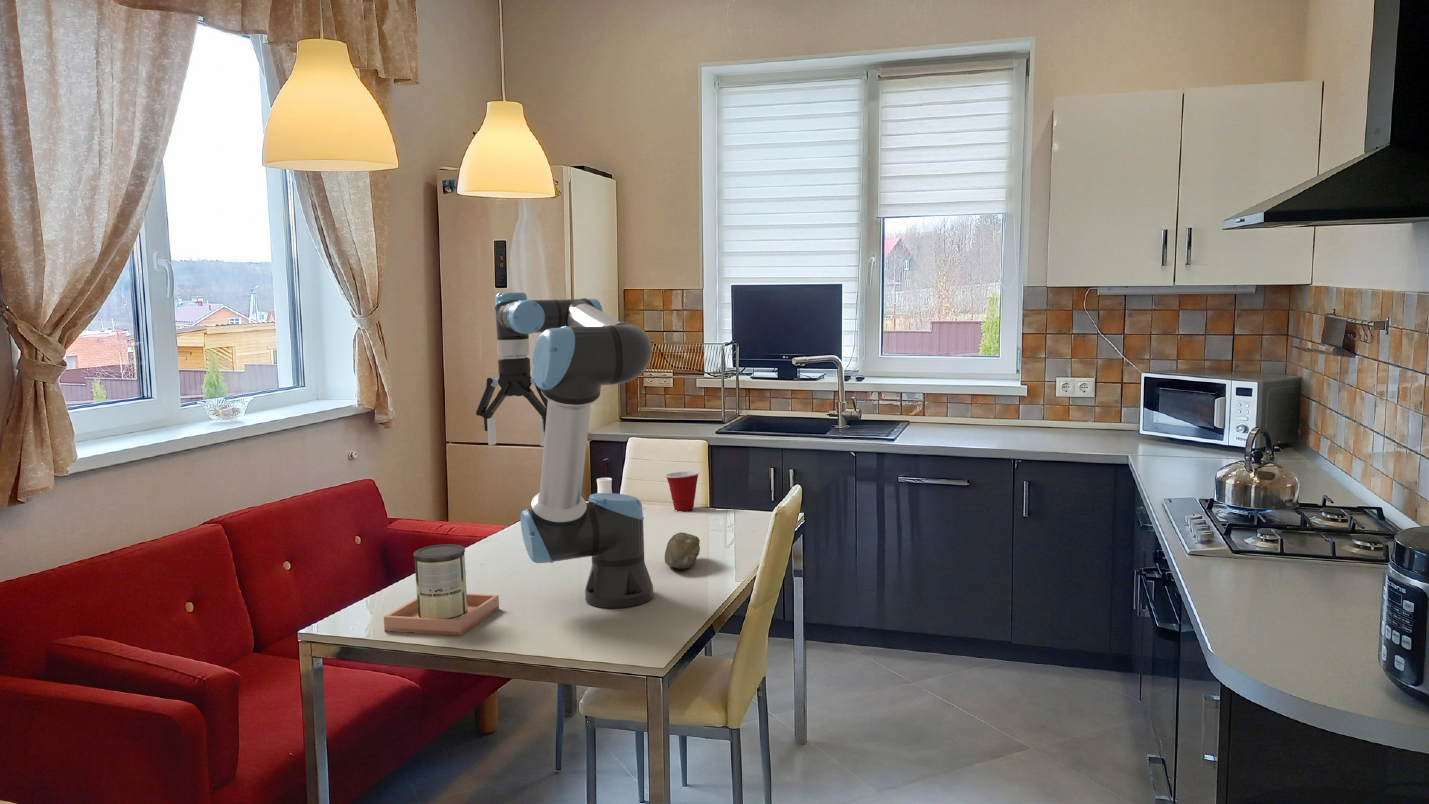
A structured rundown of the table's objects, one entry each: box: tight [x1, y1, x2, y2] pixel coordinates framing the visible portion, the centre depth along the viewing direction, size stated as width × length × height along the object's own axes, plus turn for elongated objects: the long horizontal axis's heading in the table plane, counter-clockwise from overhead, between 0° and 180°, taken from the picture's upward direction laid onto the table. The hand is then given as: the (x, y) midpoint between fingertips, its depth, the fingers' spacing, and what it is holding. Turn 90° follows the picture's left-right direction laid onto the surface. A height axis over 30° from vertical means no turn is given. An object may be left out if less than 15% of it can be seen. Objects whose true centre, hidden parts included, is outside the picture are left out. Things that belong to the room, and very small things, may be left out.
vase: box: [596, 477, 613, 493], centre depth 300 cm, size 8×8×10 cm
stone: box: [664, 531, 701, 570], centre depth 235 cm, size 17×9×8 cm, turn 178°
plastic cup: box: [664, 470, 700, 512], centre depth 297 cm, size 11×11×12 cm
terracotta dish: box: [383, 593, 500, 637], centre depth 199 cm, size 17×17×3 cm
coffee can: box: [413, 543, 468, 620], centre depth 198 cm, size 10×10×14 cm
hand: (518, 445), depth 229 cm, fingers open, 13 cm apart
